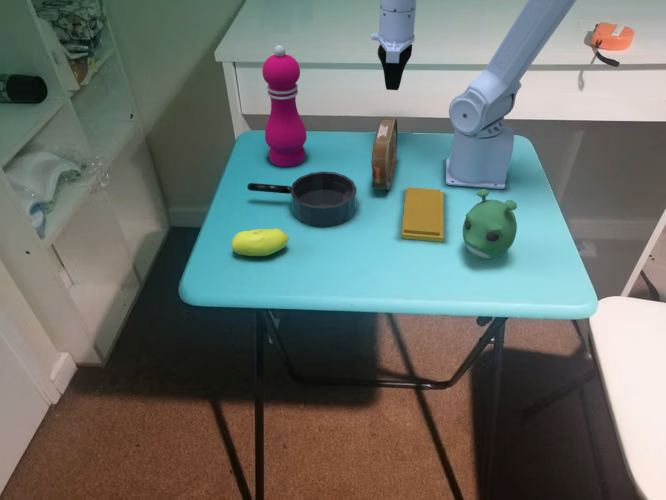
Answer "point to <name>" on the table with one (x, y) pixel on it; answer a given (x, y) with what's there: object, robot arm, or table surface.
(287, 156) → the pepper mill
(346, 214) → the pan
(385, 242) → the table surface
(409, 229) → the yellow flat slab
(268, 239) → the lemon
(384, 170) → the tin
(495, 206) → the alien toy
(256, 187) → the pan handle
